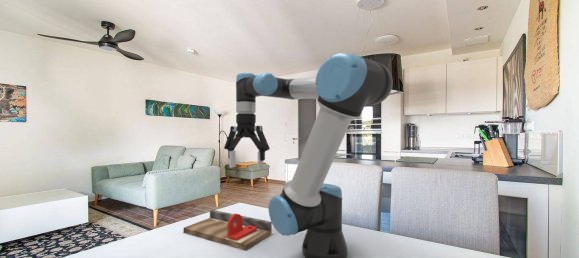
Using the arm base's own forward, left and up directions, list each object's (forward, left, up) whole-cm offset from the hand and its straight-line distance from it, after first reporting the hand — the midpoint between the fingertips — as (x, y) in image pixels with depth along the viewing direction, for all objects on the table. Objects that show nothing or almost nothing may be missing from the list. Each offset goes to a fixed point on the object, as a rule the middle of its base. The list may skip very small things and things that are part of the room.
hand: (246, 168), depth 100 cm
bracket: (-1, +2, -25) cm, 25 cm away
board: (+9, +1, -27) cm, 28 cm away
